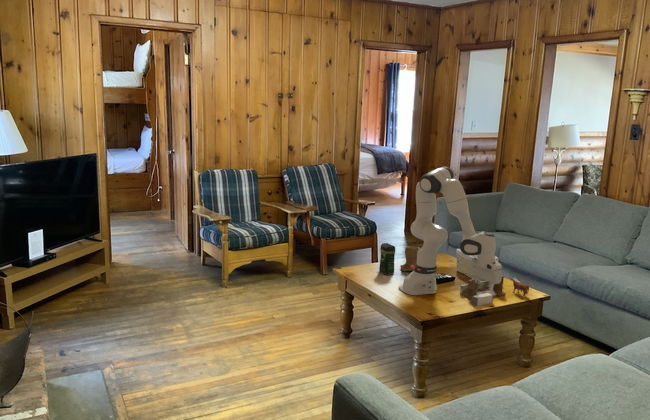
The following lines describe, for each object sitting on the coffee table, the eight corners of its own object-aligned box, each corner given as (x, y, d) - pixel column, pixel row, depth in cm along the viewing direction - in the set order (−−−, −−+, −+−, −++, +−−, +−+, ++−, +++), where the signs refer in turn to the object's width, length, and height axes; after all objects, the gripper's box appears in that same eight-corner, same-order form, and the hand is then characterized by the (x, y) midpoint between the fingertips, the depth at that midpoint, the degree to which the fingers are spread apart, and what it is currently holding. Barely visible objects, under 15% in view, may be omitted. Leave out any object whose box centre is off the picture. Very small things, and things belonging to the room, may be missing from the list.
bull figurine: (513, 289, 318) (515, 276, 316) (529, 297, 305) (531, 283, 304) (507, 290, 316) (509, 276, 314) (523, 298, 304) (525, 284, 302)
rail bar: (476, 306, 290) (477, 298, 289) (471, 303, 293) (472, 296, 292) (492, 302, 296) (493, 294, 295) (487, 300, 299) (488, 292, 298)
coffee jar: (396, 274, 337) (397, 245, 334) (385, 275, 334) (386, 246, 330) (387, 269, 346) (389, 241, 342) (377, 271, 343) (378, 242, 339)
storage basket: (497, 280, 333) (500, 257, 330) (475, 282, 327) (477, 259, 324) (474, 268, 355) (476, 246, 352) (453, 270, 349) (455, 248, 346)
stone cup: (416, 265, 356) (418, 243, 353) (425, 271, 345) (427, 248, 342) (395, 267, 351) (397, 245, 348) (403, 273, 340) (405, 250, 337)
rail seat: (475, 301, 297) (477, 282, 295) (460, 294, 307) (461, 275, 305) (505, 294, 308) (507, 276, 306) (489, 288, 318) (491, 270, 316)
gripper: (467, 257, 296) (466, 281, 300) (495, 268, 279) (493, 293, 282) (476, 255, 299) (475, 279, 303) (504, 266, 282) (502, 291, 285)
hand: (484, 286), depth 292 cm, fingers open, 8 cm apart
